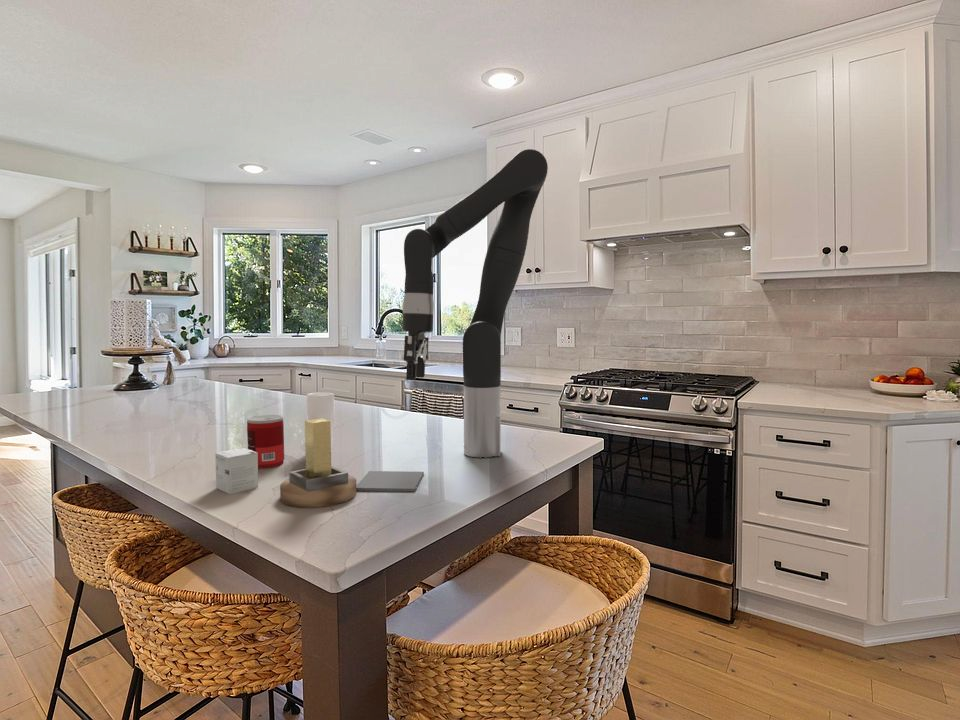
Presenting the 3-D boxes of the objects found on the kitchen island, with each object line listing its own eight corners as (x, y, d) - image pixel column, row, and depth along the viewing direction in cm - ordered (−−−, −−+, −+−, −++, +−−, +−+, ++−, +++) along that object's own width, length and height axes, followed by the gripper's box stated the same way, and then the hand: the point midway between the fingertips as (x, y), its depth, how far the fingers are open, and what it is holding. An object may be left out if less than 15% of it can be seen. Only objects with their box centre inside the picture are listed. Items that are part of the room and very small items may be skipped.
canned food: (291, 461, 130) (290, 415, 129) (268, 470, 123) (266, 421, 122) (265, 458, 133) (263, 413, 132) (240, 467, 125) (239, 419, 124)
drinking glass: (339, 449, 142) (338, 392, 141) (329, 455, 135) (328, 395, 134) (314, 448, 143) (312, 391, 142) (303, 455, 136) (301, 395, 135)
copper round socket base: (335, 480, 115) (334, 459, 114) (370, 496, 104) (369, 472, 104) (268, 494, 105) (267, 471, 105) (299, 513, 95) (299, 488, 95)
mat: (423, 474, 119) (423, 471, 119) (414, 491, 107) (414, 488, 107) (369, 473, 119) (369, 471, 119) (354, 490, 107) (354, 487, 107)
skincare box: (215, 488, 109) (214, 452, 109) (245, 481, 114) (244, 447, 113) (229, 494, 105) (228, 457, 105) (259, 487, 110) (258, 451, 109)
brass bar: (323, 478, 107) (321, 418, 106) (331, 482, 104) (330, 420, 104) (306, 482, 105) (304, 420, 104) (314, 486, 102) (312, 423, 101)
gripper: (426, 311, 127) (423, 381, 127) (439, 314, 141) (436, 377, 141) (394, 310, 128) (392, 379, 128) (411, 313, 142) (408, 376, 142)
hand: (415, 378), depth 135 cm, fingers open, 8 cm apart
